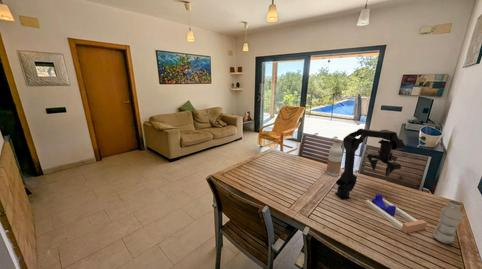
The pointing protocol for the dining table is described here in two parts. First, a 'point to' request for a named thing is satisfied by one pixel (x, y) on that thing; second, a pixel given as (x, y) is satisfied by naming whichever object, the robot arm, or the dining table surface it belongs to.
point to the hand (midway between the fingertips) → (380, 173)
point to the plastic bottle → (448, 222)
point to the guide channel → (405, 227)
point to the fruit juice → (334, 158)
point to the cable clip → (379, 202)
